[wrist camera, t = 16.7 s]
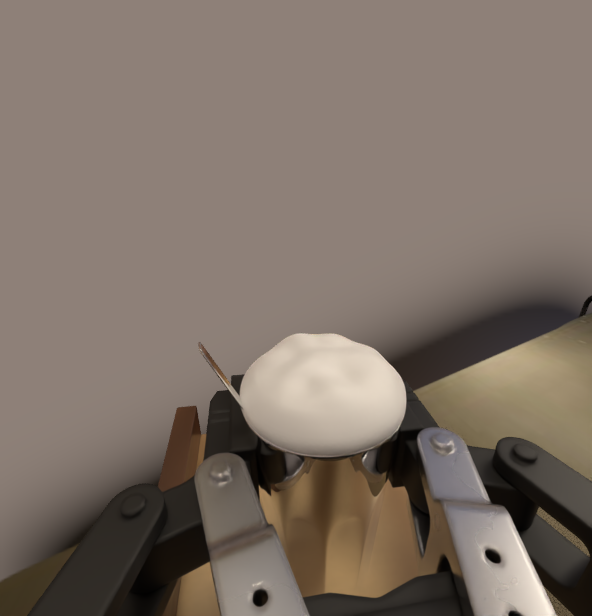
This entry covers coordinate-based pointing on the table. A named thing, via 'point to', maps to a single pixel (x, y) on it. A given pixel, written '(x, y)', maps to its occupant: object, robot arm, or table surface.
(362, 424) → the milkshake
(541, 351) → the table surface
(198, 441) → the block
